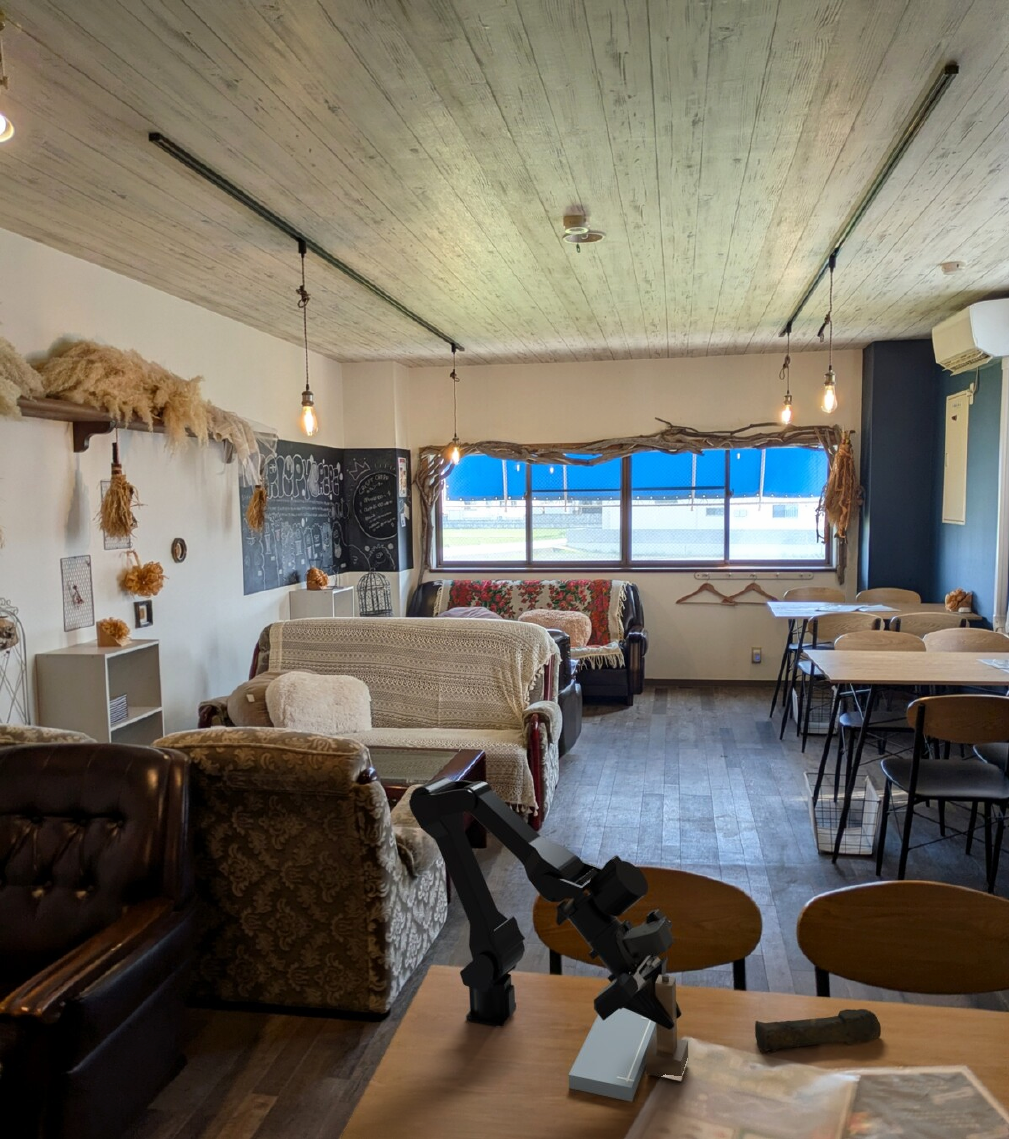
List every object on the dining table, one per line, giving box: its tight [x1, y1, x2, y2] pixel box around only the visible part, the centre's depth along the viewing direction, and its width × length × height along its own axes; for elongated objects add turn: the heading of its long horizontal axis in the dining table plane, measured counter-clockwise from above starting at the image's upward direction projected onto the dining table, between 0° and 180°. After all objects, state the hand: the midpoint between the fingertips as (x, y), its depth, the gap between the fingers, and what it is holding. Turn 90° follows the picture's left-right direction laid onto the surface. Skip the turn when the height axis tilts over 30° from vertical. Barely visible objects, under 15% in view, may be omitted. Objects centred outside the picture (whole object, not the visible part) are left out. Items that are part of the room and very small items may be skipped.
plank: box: [568, 1008, 657, 1103], centre depth 130 cm, size 9×19×2 cm, turn 158°
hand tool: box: [754, 1008, 882, 1054], centre depth 130 cm, size 19×4×5 cm, turn 92°
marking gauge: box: [645, 974, 689, 1078], centre depth 125 cm, size 5×5×14 cm
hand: (675, 1022), depth 124 cm, fingers closed on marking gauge, 3 cm apart
